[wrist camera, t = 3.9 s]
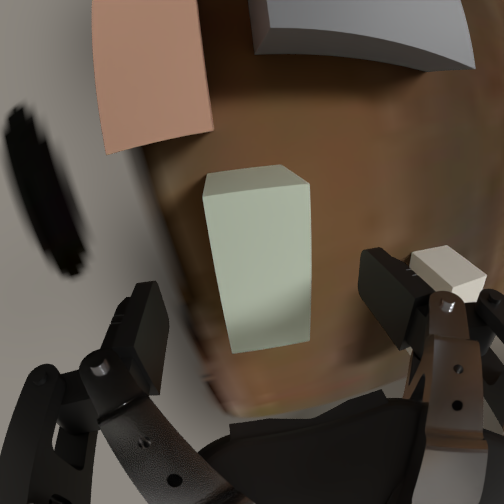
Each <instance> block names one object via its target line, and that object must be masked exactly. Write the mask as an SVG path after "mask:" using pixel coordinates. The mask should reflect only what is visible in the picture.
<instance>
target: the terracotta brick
mask: <svg viewBox="0 0 504 504" xmlns="http://www.w3.org/2000/svg"><path fill="white" fill-rule="evenodd" d="M92 42H93V43H92V44H93V62H94V73H95V84H96V92H97V101H98V109H99V116H100V122H101V128H102V134H103V140H104V145H105V151H106V155H109V154H113V153H116V152H120V151H123V150H127V149H131V148H134V147H138V146H142V145H146V144H150V143H154V142H159V141H163V140H168V139H172V138H177V137H182V136H187V135H192V134H198V133H203V132H209V131H213V130H214V124H213V117H212V110H211V102H210V95H209V88H208V81H207V73H206V66H205V58H204V50H203V42H202V34H201V26H200V18H199V9H198V1H197V0H92Z"/></svg>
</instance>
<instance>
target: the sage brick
mask: <svg viewBox="0 0 504 504" xmlns="http://www.w3.org/2000/svg"><path fill="white" fill-rule="evenodd" d="M202 198H203V204H204V210H205V216H206V222H207V228H208V234H209V239H210V245H211V250H212V256H213V261H214V267H215V272H216V277H217V282H218V288H219V293H220V298H221V303H222V308H223V313H224V317H225V322H226V327H227V332H228V336H229V341H230V346H231V350H232V354H234V353H241V352H248V351H255V350H261V349H268V348H273V347H279V346H285V345H290V344H296V343H301V342H306V341H310V316H311V210H310V184H309V183H308V182H306V181H305V180H303V179H302V178H301V177H299V176H298V175H296V174H295V173H293V172H292V171H290V170H289V169H287V168H286V167H284V166H282V165H272V166H262V167H253V168H245V169H237V170H229V171H222V172H215V173H208V174H207V177H206V182H205V186H204V191H203V196H202Z"/></svg>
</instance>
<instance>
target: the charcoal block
mask: <svg viewBox="0 0 504 504" xmlns="http://www.w3.org/2000/svg"><path fill="white" fill-rule="evenodd" d="M248 6H249V13H250V21H251V29H252V38H253V46H254V55H260V54H311V55H328V56H340V57H350V58H358V59H365V60H372V61H378V62H384V63H389V64H395V65H400V66H404V67H409V68H413V69H417V70H421V71H425V72H431V71H444V70H463V69H475V62H474V56H473V50H472V44H471V39H470V35H469V30H468V26H467V22H466V18H465V14H464V11H463V7H462V4H461V1H460V0H248Z"/></svg>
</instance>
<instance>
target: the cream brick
mask: <svg viewBox="0 0 504 504" xmlns="http://www.w3.org/2000/svg"><path fill="white" fill-rule="evenodd" d="M409 267H410V268H411V270H413V271H414V272H415V273H416V274H417V275H418V276H420V277H421V278H422V279H423V280H424V281H425V282H426V283H427V284H428V285H429V286H430V287H432V288H433V289H434V290H435V291H449V292H452V293H454V294H456V295H458V296H459V297H460V298H461V299H462V300H463V301H464V303H467V302H477V299H478V296H479V293H480V292H481V291H482V289H483V286H484V283H485V280H486V277H487V275H486V274H485V273H483V272H482V271H481V270H480V269H478V268H477V267H476V266H474V265H473V264H472V263H470V262H469V261H468V260H466V259H465V258H464V257H462V256H461V255H460V254H458V253H457V252H456V251H454V250H453V249H451V248H450V247H449V246H447V245H445V246H441V247H436V248H431V249H426V250H420V251H415V252H412V254H411V260H410V265H409ZM406 350H407V351H408V353H409V354H410V356H411V353H412V350H413V349H412V348H411V347H409V348H406Z"/></svg>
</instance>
